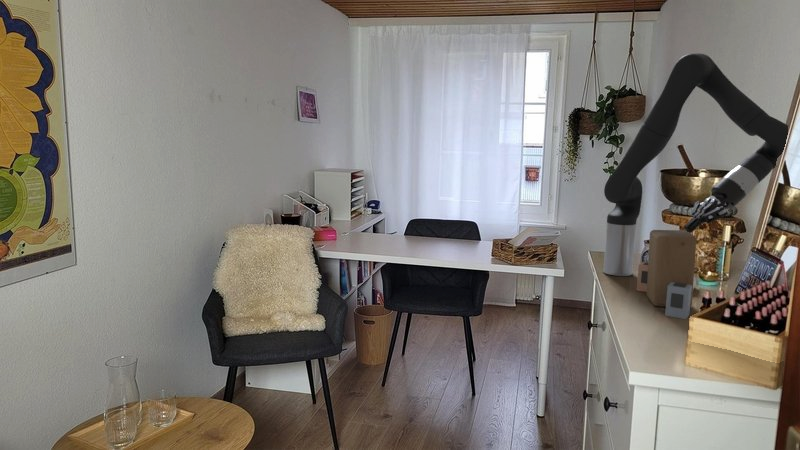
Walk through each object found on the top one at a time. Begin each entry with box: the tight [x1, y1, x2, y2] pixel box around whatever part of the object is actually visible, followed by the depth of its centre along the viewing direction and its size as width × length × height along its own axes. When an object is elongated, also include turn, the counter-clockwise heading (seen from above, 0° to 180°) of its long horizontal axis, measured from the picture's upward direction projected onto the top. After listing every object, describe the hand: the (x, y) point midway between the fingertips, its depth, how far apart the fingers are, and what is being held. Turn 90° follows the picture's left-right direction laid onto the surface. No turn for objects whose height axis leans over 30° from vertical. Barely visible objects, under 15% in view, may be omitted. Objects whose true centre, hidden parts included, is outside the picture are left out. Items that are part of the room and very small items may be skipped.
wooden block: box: [646, 229, 697, 308], centre depth 160 cm, size 10×10×20 cm
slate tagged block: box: [664, 282, 692, 320], centre depth 150 cm, size 5×5×8 cm
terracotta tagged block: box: [636, 261, 648, 293], centre depth 174 cm, size 5×5×8 cm
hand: (687, 230), depth 158 cm, fingers closed
